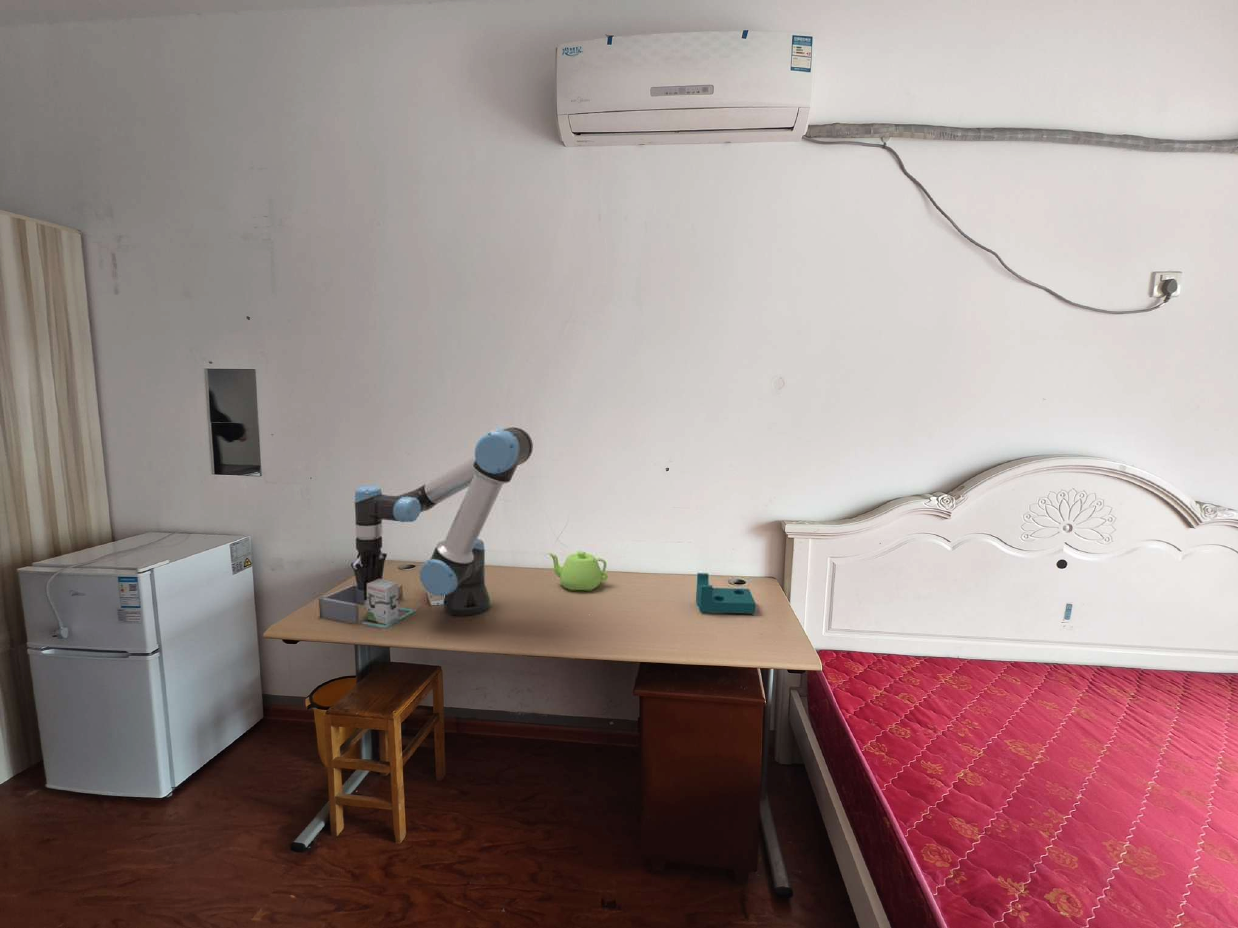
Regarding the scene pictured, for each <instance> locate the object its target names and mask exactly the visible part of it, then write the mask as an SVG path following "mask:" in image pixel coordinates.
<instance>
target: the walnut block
mask: <svg viewBox="0 0 1238 928" xmlns="http://www.w3.org/2000/svg"><path fill="white" fill-rule="evenodd" d="M403 599H404V594H403V584H398V603H399V602H401V601H402V600H403Z"/></svg>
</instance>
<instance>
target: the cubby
mask: <svg viewBox="0 0 1238 928" xmlns="http://www.w3.org/2000/svg"><path fill="white" fill-rule="evenodd" d="M359 604H360V605H365V600H364V591H363V590H358V587H357V583H353V584H351V585H348V586H345V587H343V588H341V589H338V590H336V591H334V592H332V593H329V594H327V595H324V596H321V597H320V598H318V606H319V607H318V608H319V618H323V619H328V620H333V621H337V622H343V623H347V624H353V625H358V624H359V623H360V618H359V617H360V615H359V613H360V612H359Z"/></svg>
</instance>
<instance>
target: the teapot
mask: <svg viewBox="0 0 1238 928" xmlns="http://www.w3.org/2000/svg"><path fill="white" fill-rule="evenodd" d="M547 554H548V555H549V556H550V557H551V558H552V561H553V570H554V573H555V575H556V576H558V577H559V580H560V583H561V584H562V586H563V587H564V588H566V589H568V591H587V592H590V591H593V589H596V588H598V586H599V585H600V584H601V582H602V581H607V580H608V574H607V573H605V572H606V568H607V562H606V560H605V559H604V558H601V557H599V558H596V557H595V556H594V555H593V554H590V553H587V552H585V551H581V550H580V551H577V552H576V553H573V554H570V555H568V556H567V558H566V559H565V561H564V563H563V564H562V565H563V566H562V567H561V565H560V564H559V558H558V556H557V555H556V554H554V553H552V552H551V553H550V552H548V553H547ZM599 562H601V563H603V567H602V570H601V567H600V565H599Z"/></svg>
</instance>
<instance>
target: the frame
mask: <svg viewBox="0 0 1238 928" xmlns="http://www.w3.org/2000/svg"><path fill="white" fill-rule="evenodd" d="M398 611H402V612H406V613H405V614H403V615H402V616H400V617H399V616H398V619H396V620H394V621H392V622H390V623H389V624H383V625H382V624H377V623H372V622H368V621H364V622H362V625H364V626H369V627H373V628H374V627H375V628H379V629H384V630H385V629H387V628H389V627H391V626H393V625H394V624H396V623H398V622H400V621H401V620H403V619H405V618H407V617H409V616H411V615H413V614H414V613H416V612H417V611H416V609H409V608H405V607H399V606H398Z"/></svg>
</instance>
